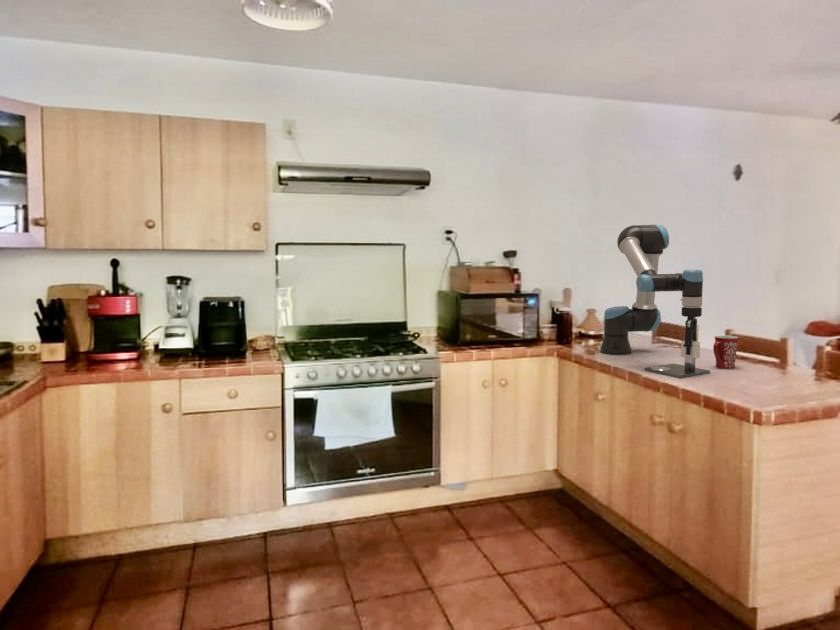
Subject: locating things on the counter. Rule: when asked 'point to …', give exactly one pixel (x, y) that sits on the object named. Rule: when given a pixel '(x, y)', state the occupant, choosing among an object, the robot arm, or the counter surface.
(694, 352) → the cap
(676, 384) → the counter surface
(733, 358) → the mug
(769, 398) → the counter surface
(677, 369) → the post base
